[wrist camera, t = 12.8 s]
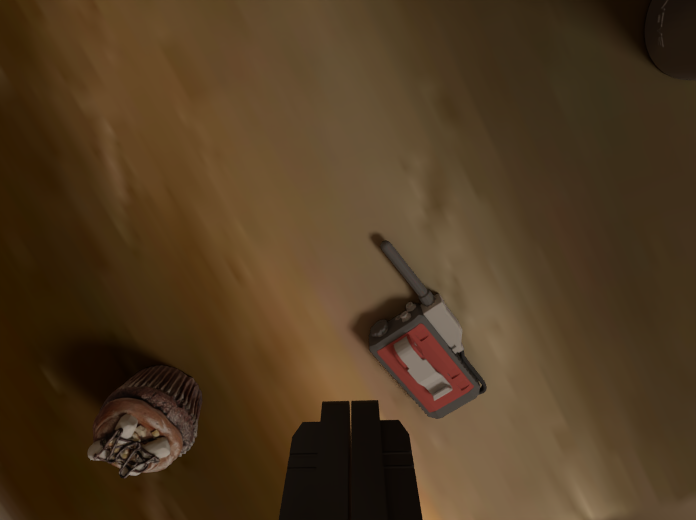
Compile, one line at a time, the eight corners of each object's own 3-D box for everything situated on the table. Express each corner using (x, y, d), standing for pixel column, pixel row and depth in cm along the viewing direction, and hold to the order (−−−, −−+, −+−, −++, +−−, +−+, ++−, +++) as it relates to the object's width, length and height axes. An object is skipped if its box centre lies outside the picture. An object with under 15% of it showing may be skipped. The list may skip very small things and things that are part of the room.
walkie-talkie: (500, 371, 49) (391, 230, 43) (513, 398, 45) (395, 247, 39) (431, 411, 51) (318, 282, 45) (438, 440, 47) (315, 302, 41)
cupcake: (107, 403, 51) (52, 477, 41) (145, 341, 48) (96, 406, 38) (184, 442, 53) (149, 521, 43) (226, 385, 50) (197, 457, 40)
